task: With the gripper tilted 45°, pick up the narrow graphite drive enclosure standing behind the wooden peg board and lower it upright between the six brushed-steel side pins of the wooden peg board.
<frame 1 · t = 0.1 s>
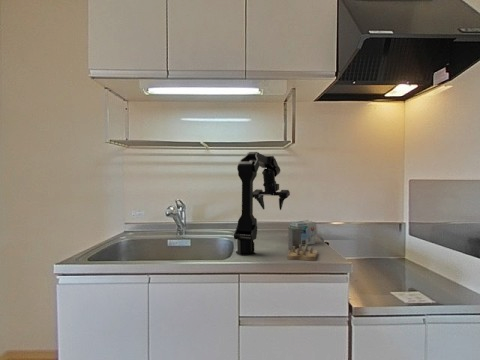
hand: (272, 209, 190), 15 cm above the countertop, tool pointing down, fingers open, 9 cm apart
wooden peg board: (302, 256, 153), on the countertop
drive enclosure: (294, 250, 164), on the countertop
light bulb box: (302, 244, 179), on the countertop
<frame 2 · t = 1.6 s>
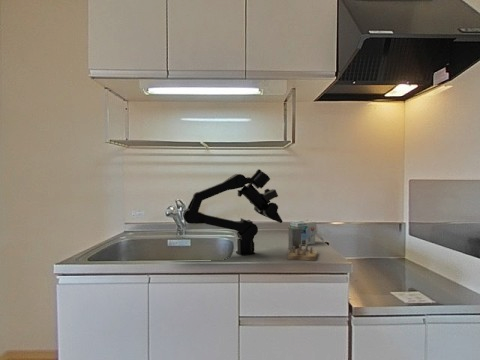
hand: (278, 220, 162), 13 cm above the countertop, tool tilted 45°, fingers open, 9 cm apart
nothing on the countertop moved.
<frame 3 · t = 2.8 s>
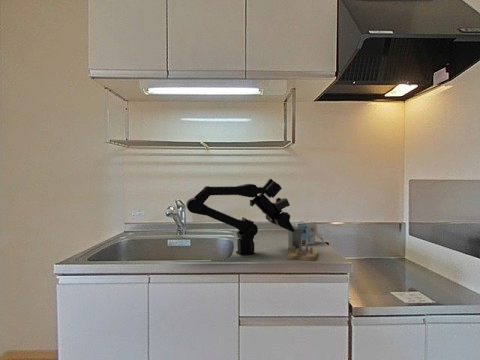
hand: (290, 229, 163), 9 cm above the countertop, tool tilted 45°, fingers open, 9 cm apart
nothing on the countertop moved.
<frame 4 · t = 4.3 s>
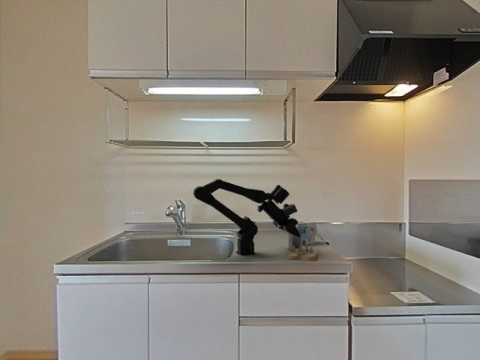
hand: (297, 235, 164), 7 cm above the countertop, tool tilted 45°, fingers closed on drive enclosure, 5 cm apart
drive enclosure: (294, 250, 164), on the countertop, touching gripper
everything else where it was.
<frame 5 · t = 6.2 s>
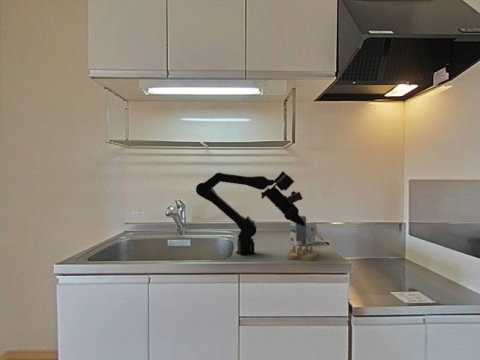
hand: (303, 224, 157), 13 cm above the countertop, tool tilted 45°, fingers closed on drive enclosure, 5 cm apart
drive enclosure: (300, 239, 157), point 6 cm above the countertop, touching gripper
everything else where it was.
when the fingers open (9 cm above the countertop, at t = 8.1 s): drive enclosure drops 1 cm, resting on wooden peg board.
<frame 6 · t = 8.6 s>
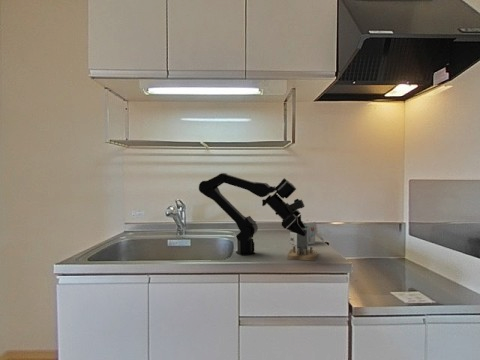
hand: (305, 233, 152), 10 cm above the countertop, tool tilted 45°, fingers open, 9 cm apart
drive enclosure: (302, 252, 152), point 1 cm above the countertop, touching wooden peg board
everything else where it was.
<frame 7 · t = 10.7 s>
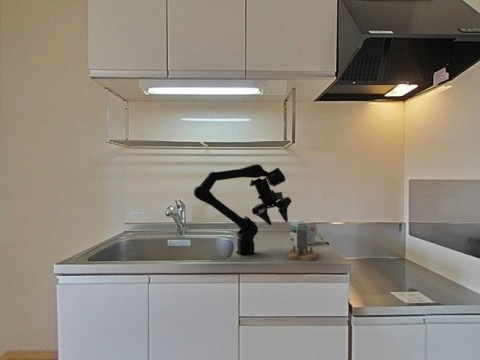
hand: (278, 223, 162), 12 cm above the countertop, tool tilted 25°, fingers open, 9 cm apart
nothing on the countertop moved.
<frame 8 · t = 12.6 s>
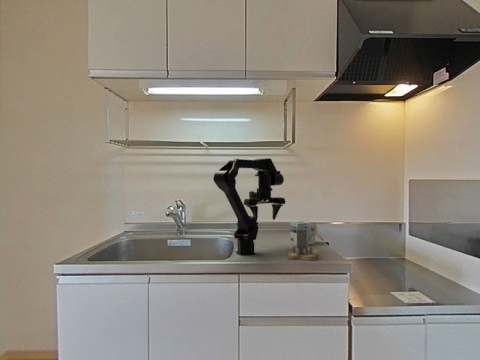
hand: (265, 220, 167), 13 cm above the countertop, tool pointing down, fingers open, 9 cm apart
nothing on the countertop moved.
at the end: drive enclosure 0.0 cm off-centre on the wooden peg board, point 1.5 cm above the wooden peg board's base; drive enclosure tilted 0°; the gripper is holding nothing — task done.
